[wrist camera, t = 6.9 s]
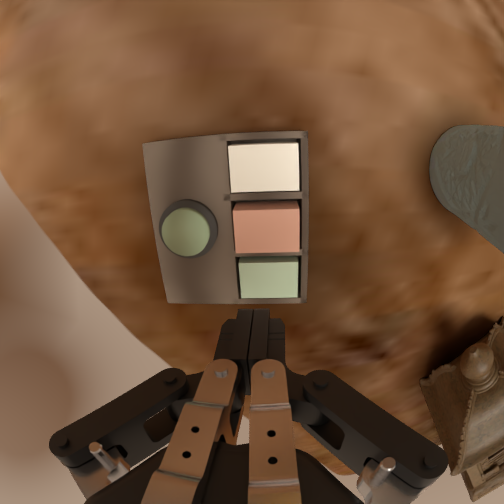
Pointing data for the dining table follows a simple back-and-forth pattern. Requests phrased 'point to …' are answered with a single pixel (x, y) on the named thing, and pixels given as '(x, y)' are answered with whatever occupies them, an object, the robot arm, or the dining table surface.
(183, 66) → the dining table surface
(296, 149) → the cream key
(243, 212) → the terracotta key
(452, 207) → the grey-green tumbler
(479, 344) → the brown lantern
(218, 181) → the key console
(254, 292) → the sage key
